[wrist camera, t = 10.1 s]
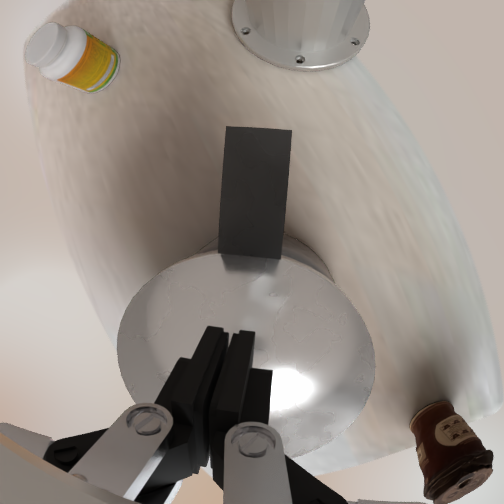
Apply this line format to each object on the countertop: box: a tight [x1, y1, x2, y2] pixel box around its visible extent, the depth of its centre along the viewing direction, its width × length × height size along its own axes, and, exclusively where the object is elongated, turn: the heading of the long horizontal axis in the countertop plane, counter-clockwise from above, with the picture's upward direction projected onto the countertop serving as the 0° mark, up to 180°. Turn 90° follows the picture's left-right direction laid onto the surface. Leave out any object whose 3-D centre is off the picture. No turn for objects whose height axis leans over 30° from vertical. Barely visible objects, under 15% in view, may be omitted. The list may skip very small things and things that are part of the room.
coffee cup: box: [410, 401, 493, 504], centre depth 22 cm, size 9×8×13 cm
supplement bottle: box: [25, 22, 120, 93], centre depth 19 cm, size 5×5×10 cm
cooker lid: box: [117, 126, 375, 459], centre depth 15 cm, size 22×16×3 cm
